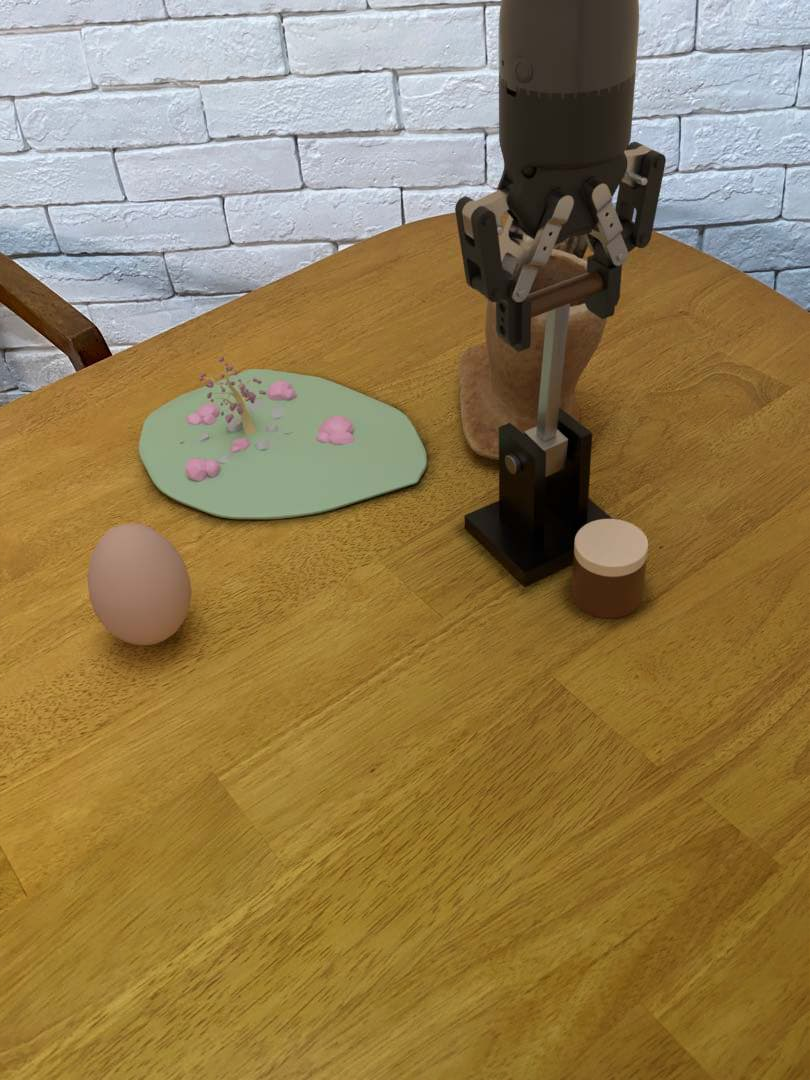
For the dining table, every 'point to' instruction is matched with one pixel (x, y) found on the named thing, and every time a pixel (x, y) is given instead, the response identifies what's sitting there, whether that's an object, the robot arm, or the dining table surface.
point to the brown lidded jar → (609, 568)
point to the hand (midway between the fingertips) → (558, 328)
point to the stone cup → (523, 365)
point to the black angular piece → (537, 504)
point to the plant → (278, 446)
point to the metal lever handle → (556, 360)
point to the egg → (138, 584)
